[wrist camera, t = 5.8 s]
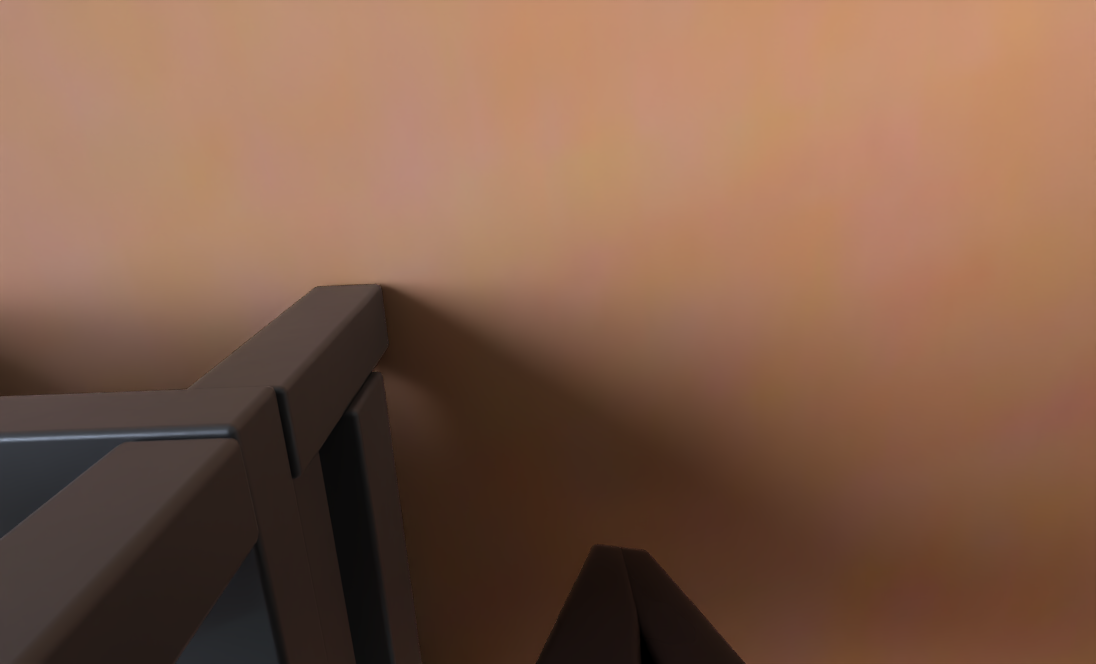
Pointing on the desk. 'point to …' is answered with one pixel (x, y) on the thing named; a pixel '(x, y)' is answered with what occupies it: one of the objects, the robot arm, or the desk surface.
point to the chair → (214, 509)
